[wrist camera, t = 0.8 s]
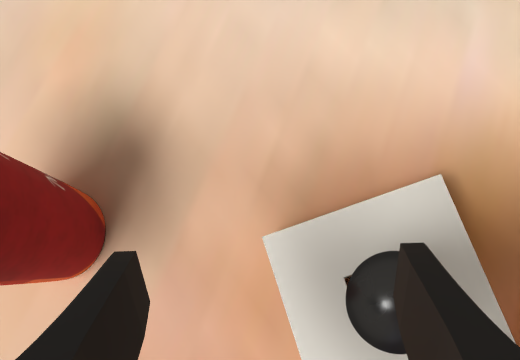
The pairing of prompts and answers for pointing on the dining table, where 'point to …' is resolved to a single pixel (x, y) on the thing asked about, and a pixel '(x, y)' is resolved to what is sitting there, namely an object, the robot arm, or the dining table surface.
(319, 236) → the block
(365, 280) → the plunger
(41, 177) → the coffee cup
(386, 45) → the dining table surface
